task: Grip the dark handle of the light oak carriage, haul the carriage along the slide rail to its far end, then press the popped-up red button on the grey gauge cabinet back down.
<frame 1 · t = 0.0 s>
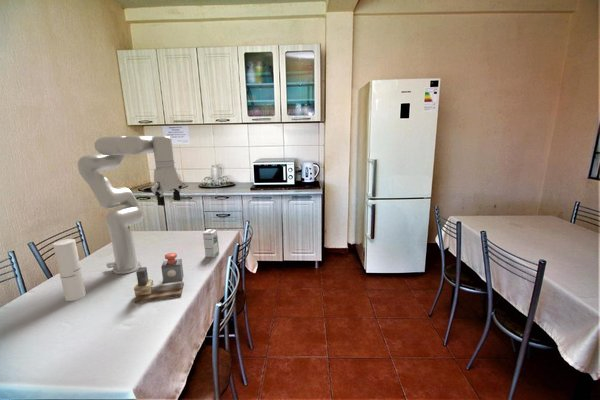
hand: (169, 202, 133), 37 cm above the table, tool pointing down, fingers open, 9 cm apart
slide rail: (160, 293, 128), on the table
gauge cabinet: (173, 280, 139), on the table
cylindrical container: (75, 296, 127), on the table
carriage: (143, 280, 125), point 7 cm above the table, slide at 0.0 cm
reset button: (171, 261, 137), point 10 cm above the table, slide at 0.0 cm
syrup box: (212, 255, 167), on the table
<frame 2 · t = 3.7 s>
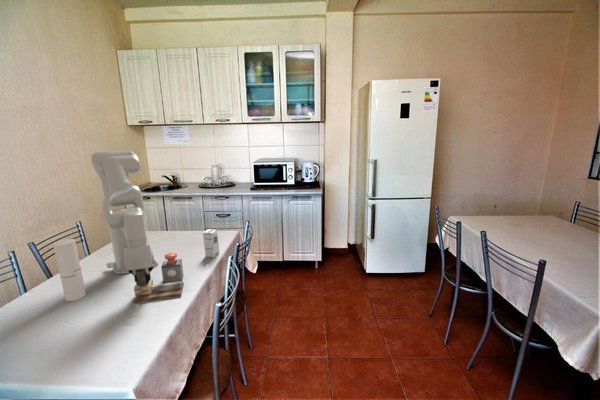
hand: (143, 281, 125), 7 cm above the table, tool pointing down, fingers closed on carriage, 3 cm apart
carriage: (143, 280, 125), point 7 cm above the table, slide at 0.0 cm, touching gripper
everything else where it was.
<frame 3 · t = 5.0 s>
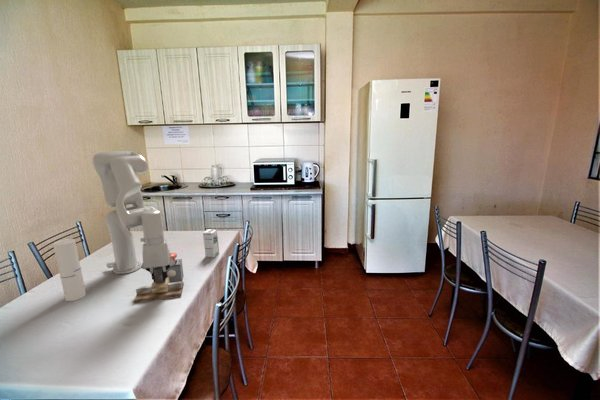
hand: (160, 279, 127), 7 cm above the table, tool pointing down, fingers closed on carriage, 3 cm apart
carriage: (159, 278, 126), point 7 cm above the table, slide at 6.6 cm, touching gripper
everything else where it was.
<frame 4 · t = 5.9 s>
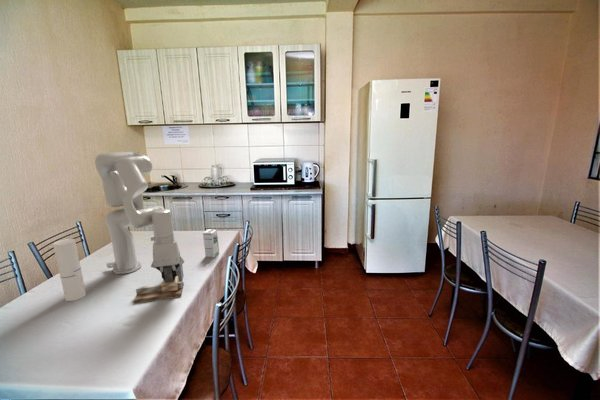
hand: (169, 278, 128), 7 cm above the table, tool pointing down, fingers closed on carriage, 3 cm apart
carriage: (169, 277, 127), point 7 cm above the table, slide at 10.5 cm, touching gripper
everything else where it was.
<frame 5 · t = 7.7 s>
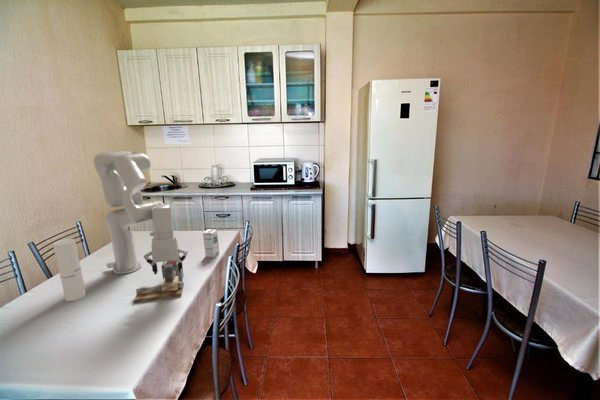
hand: (168, 271, 127), 10 cm above the table, tool pointing down, fingers open, 9 cm apart
carriage: (169, 277, 127), point 7 cm above the table, slide at 10.5 cm
everything else where it was.
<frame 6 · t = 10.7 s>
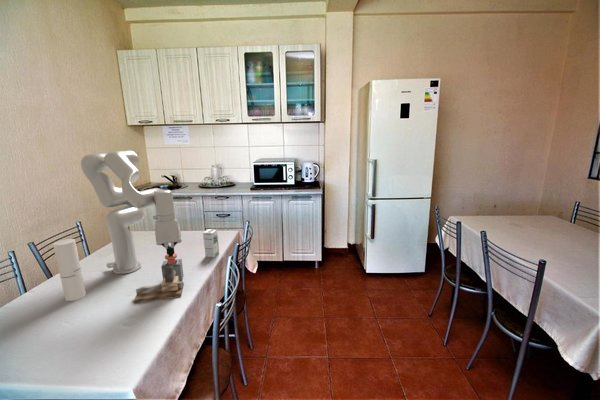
hand: (171, 255, 136), 13 cm above the table, tool pointing down, fingers closed
reset button: (171, 261, 137), point 9 cm above the table, slide at 0.2 cm, touching gripper
everything else where it was.
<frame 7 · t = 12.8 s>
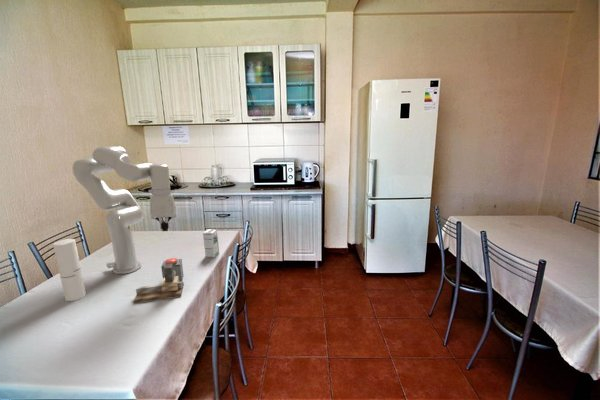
hand: (165, 230, 137), 24 cm above the table, tool pointing down, fingers closed
reset button: (172, 266, 138), point 7 cm above the table, slide at 2.6 cm
everything else where it was.
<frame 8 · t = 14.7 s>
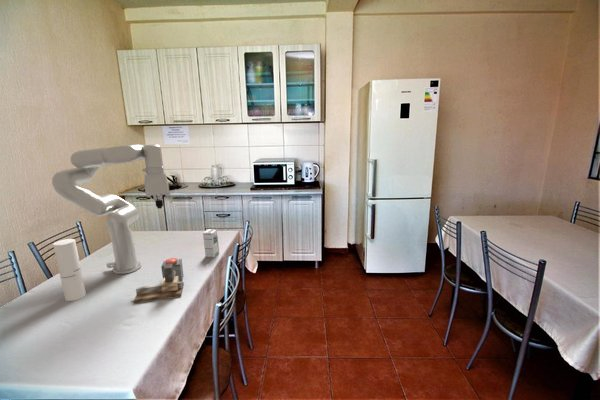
hand: (159, 207, 145), 32 cm above the table, tool pointing down, fingers closed
nothing on the table moved.
at the end: carriage slide at 10.5 cm; reset button slide at 2.6 cm; the gripper is holding nothing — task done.
